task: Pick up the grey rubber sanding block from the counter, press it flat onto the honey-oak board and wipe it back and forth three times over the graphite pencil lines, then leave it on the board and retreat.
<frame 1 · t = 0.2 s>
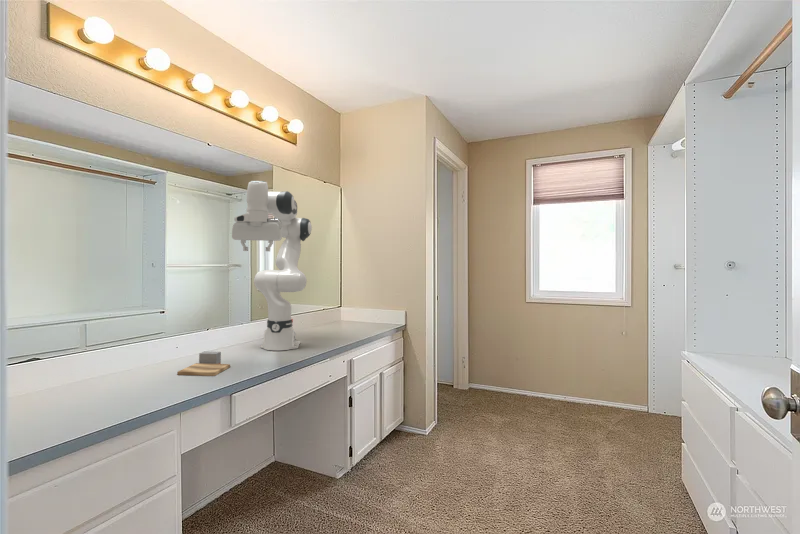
hand: (256, 251, 172), 47 cm above the worktop, fingers open, 8 cm apart
sanding block: (209, 364, 167), on the worktop
board: (204, 370, 157), on the worktop
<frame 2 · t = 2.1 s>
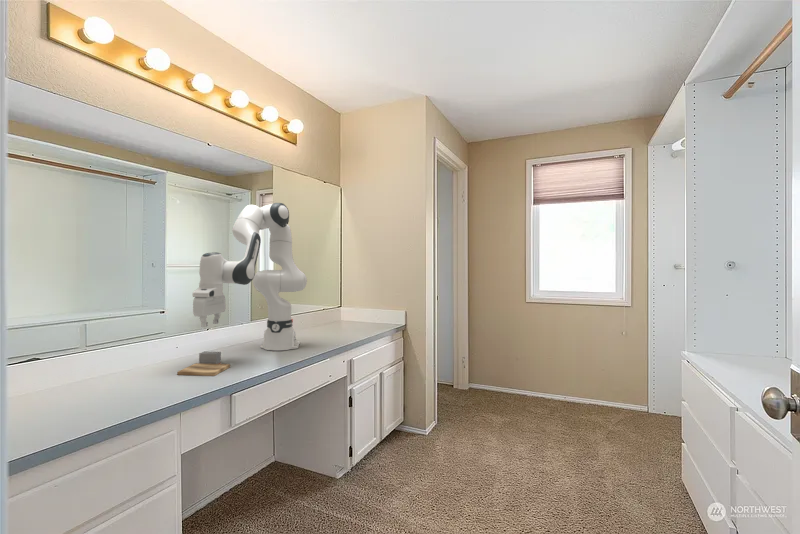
hand: (210, 325, 167), 16 cm above the worktop, fingers open, 8 cm apart
nothing on the worktop moved.
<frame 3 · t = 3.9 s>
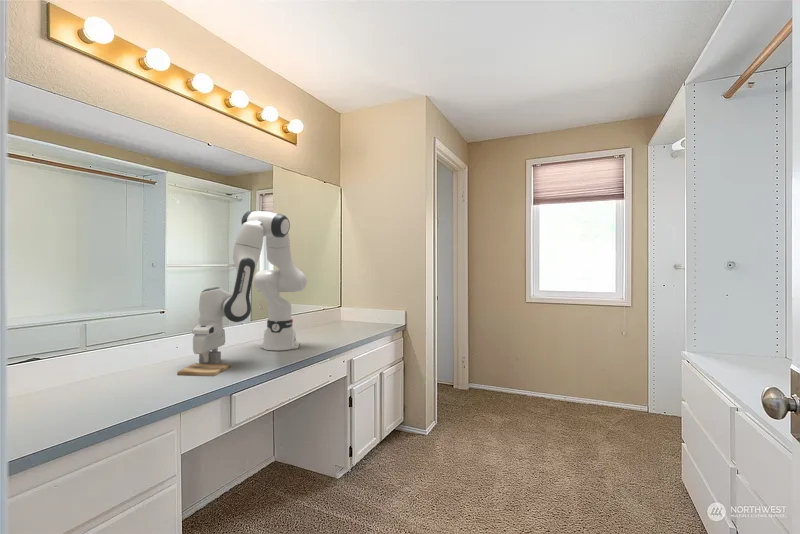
hand: (210, 360, 167), 2 cm above the worktop, fingers closed on sanding block, 4 cm apart
sanding block: (209, 364, 167), on the worktop, touching gripper
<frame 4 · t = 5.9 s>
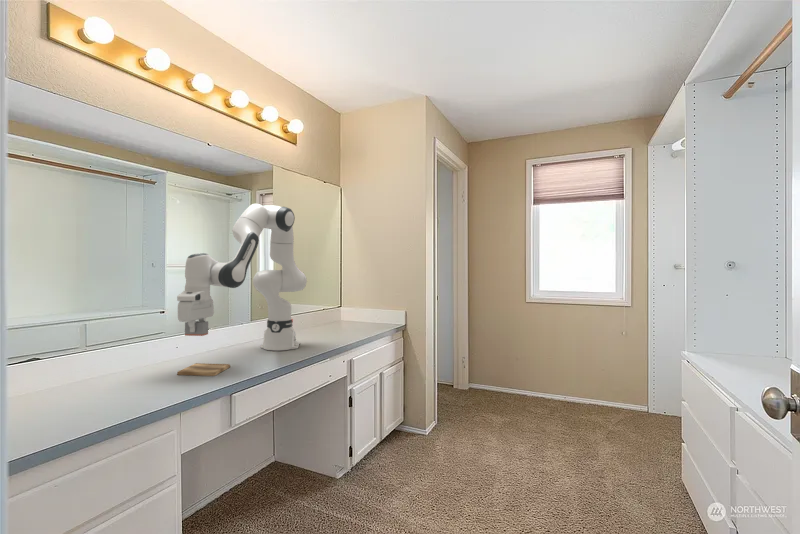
hand: (196, 330, 157), 15 cm above the worktop, fingers closed on sanding block, 4 cm apart
sanding block: (196, 334, 157), point 14 cm above the worktop, touching gripper
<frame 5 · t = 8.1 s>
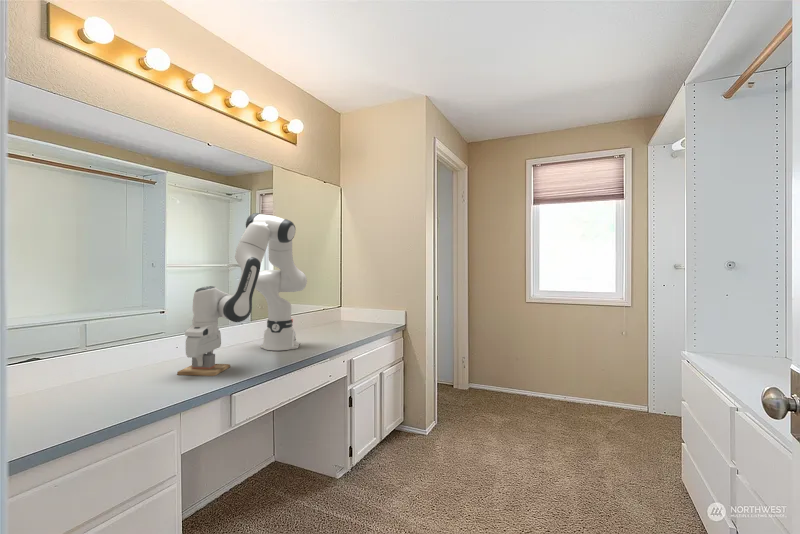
hand: (204, 364, 157), 3 cm above the worktop, fingers closed on sanding block, 4 cm apart
sanding block: (203, 367, 157), point 1 cm above the worktop, touching gripper
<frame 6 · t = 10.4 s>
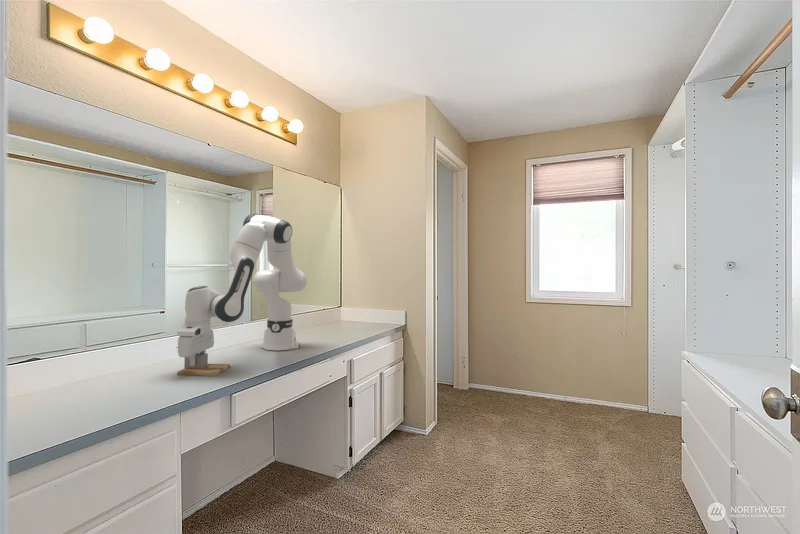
hand: (197, 363, 157), 3 cm above the worktop, fingers closed on sanding block, 4 cm apart
sanding block: (196, 367, 157), point 1 cm above the worktop, touching gripper
when the fingers open (3 cm above the worktop, at t = 12.2 s): sanding block stays where it is, resting on board.
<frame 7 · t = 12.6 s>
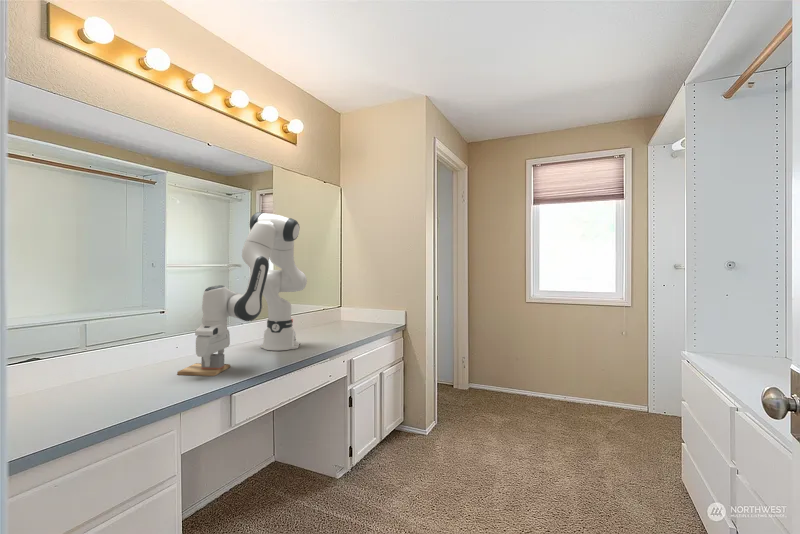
hand: (213, 363, 157), 3 cm above the worktop, fingers open, 8 cm apart
sanding block: (212, 367, 157), point 1 cm above the worktop, touching board
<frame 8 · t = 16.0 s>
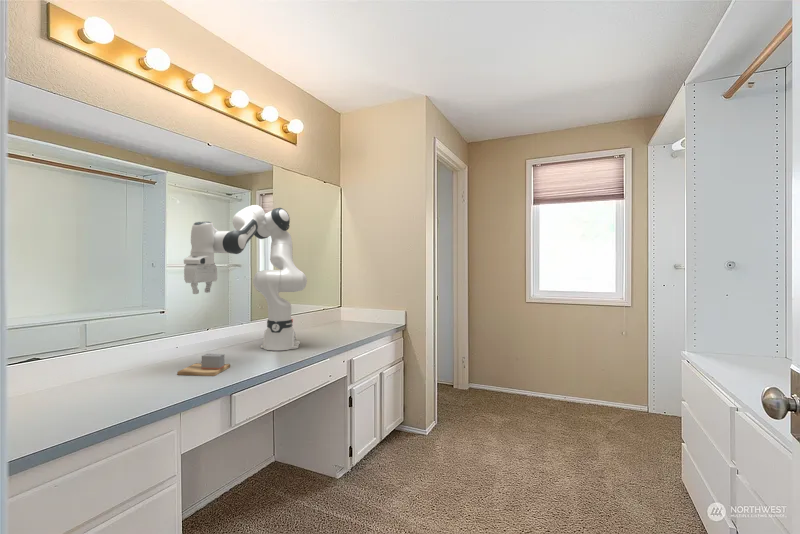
hand: (201, 293, 169), 29 cm above the worktop, fingers open, 8 cm apart
nothing on the worktop moved.
at the end: sanding block inside the target area on the board (3.2 cm from its centre), point 1.2 cm above the board's base; sanding block tilted 0°; sanding block moved 11.8 cm from its start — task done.
